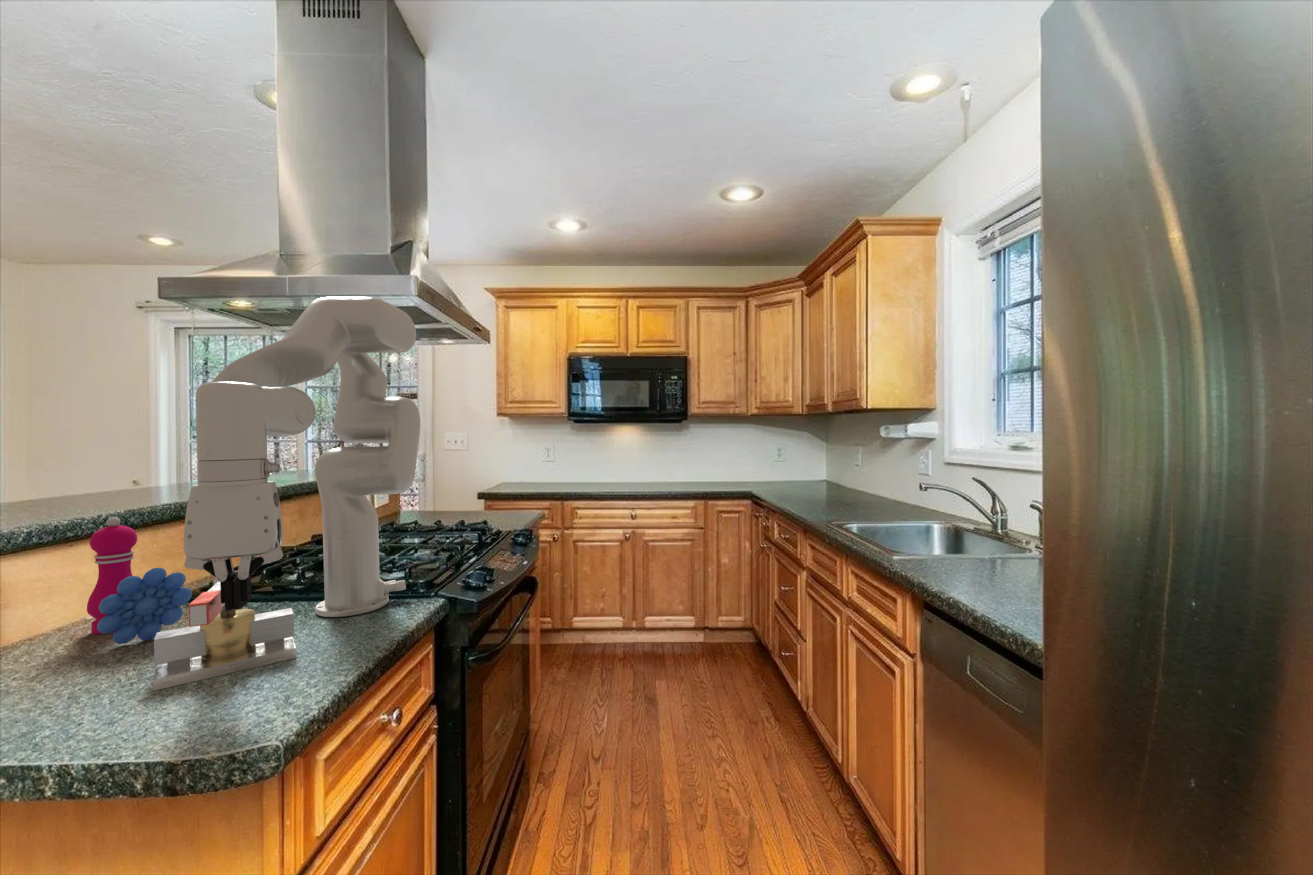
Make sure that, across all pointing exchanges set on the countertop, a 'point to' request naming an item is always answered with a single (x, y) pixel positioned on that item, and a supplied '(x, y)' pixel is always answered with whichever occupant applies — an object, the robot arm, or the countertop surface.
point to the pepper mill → (110, 563)
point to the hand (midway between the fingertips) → (236, 607)
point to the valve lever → (206, 606)
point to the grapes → (144, 605)
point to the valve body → (223, 646)
